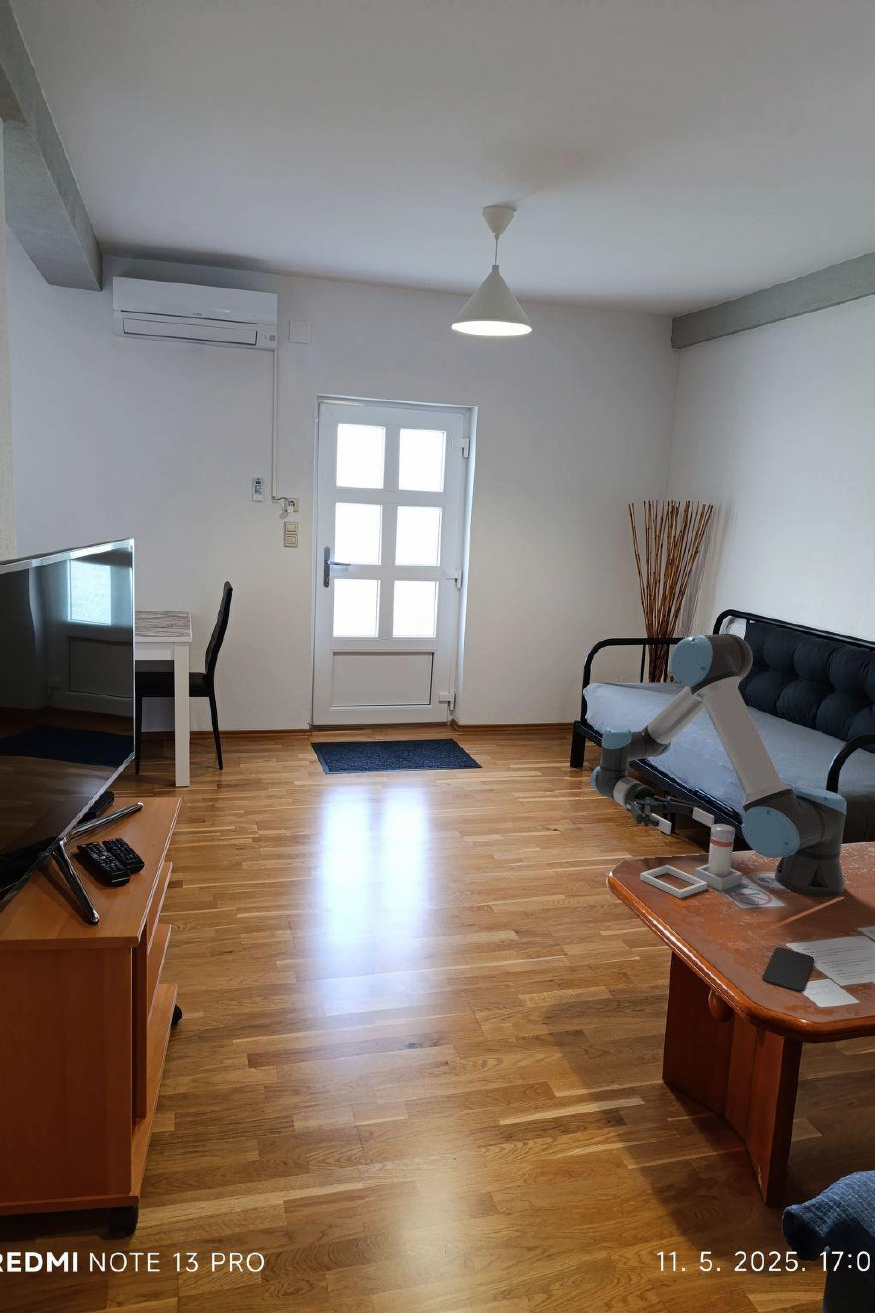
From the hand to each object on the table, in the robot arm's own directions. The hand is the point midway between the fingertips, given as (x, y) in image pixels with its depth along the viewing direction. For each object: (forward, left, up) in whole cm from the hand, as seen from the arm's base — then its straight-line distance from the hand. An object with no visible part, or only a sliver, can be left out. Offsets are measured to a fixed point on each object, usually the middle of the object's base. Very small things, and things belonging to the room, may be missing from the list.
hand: (691, 825), depth 217 cm
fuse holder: (-10, +2, -11) cm, 15 cm away
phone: (-42, +23, -11) cm, 49 cm away
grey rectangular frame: (-5, +12, -11) cm, 17 cm away
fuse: (-10, +2, -10) cm, 14 cm away
